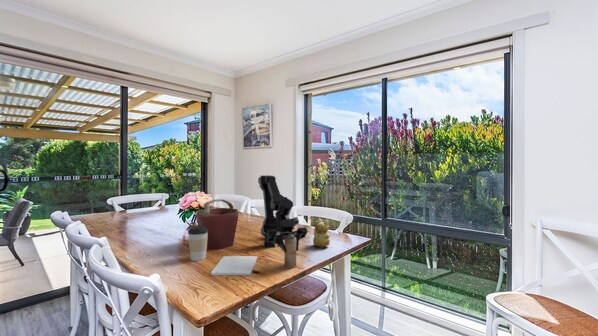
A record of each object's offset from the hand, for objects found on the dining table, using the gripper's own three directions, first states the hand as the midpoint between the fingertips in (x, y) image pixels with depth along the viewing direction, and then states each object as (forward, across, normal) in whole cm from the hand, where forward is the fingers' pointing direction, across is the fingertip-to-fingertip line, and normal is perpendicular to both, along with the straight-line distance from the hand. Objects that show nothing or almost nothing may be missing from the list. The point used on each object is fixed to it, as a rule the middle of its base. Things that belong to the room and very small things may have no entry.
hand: (291, 251), depth 123 cm
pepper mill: (+4, 0, +6) cm, 7 cm away
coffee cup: (-14, -37, +24) cm, 47 cm away
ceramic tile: (-2, -22, +12) cm, 26 cm away
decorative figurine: (-10, +25, +20) cm, 34 cm away
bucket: (-28, -26, +38) cm, 54 cm away
